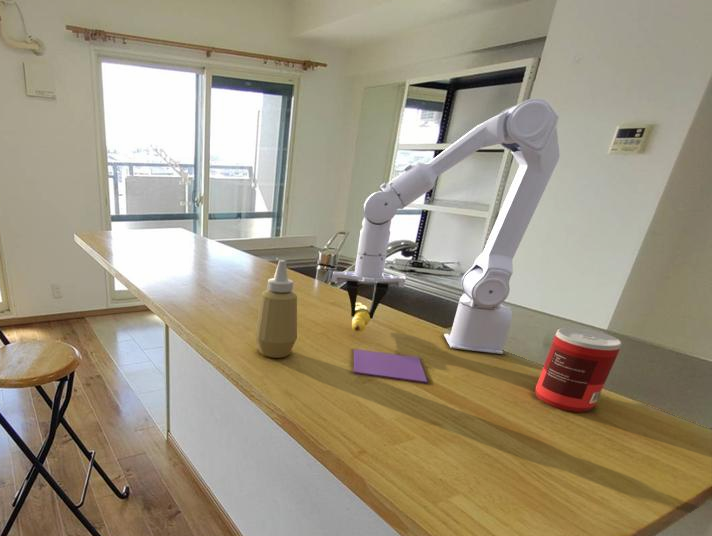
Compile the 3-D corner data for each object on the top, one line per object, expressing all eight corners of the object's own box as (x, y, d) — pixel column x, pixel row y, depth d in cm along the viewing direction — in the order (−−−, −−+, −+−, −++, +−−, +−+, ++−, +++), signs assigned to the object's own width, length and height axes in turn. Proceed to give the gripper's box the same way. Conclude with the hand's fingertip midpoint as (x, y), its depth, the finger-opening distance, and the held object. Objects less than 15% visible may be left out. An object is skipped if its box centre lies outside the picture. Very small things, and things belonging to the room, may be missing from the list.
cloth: (418, 358, 82) (418, 357, 82) (426, 383, 73) (427, 381, 73) (353, 350, 86) (354, 349, 85) (353, 373, 76) (354, 371, 76)
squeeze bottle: (250, 345, 87) (256, 256, 80) (289, 344, 88) (298, 256, 80) (257, 361, 80) (264, 265, 72) (300, 360, 80) (310, 265, 73)
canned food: (580, 393, 70) (607, 330, 66) (603, 417, 63) (634, 349, 59) (526, 385, 73) (548, 324, 68) (543, 408, 66) (568, 341, 61)
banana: (367, 312, 101) (369, 298, 100) (369, 336, 86) (372, 321, 85) (351, 310, 102) (353, 297, 101) (351, 334, 87) (353, 319, 86)
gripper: (334, 254, 87) (326, 318, 92) (411, 259, 83) (398, 325, 88) (336, 249, 93) (328, 309, 98) (407, 253, 89) (395, 315, 95)
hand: (361, 316), depth 94 cm, fingers closed on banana, 3 cm apart
